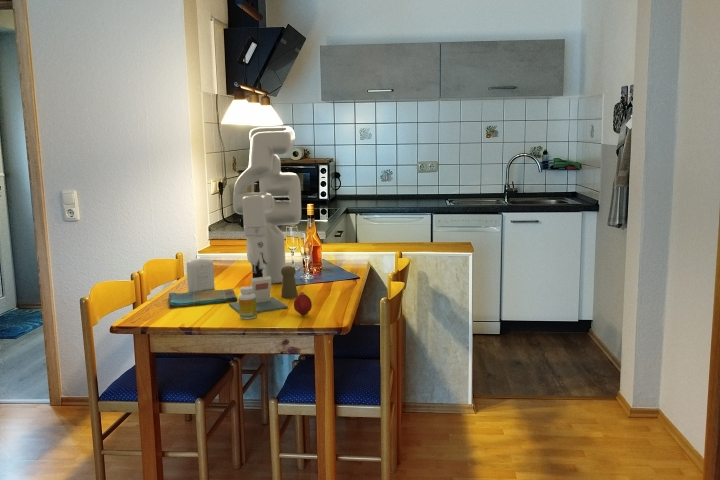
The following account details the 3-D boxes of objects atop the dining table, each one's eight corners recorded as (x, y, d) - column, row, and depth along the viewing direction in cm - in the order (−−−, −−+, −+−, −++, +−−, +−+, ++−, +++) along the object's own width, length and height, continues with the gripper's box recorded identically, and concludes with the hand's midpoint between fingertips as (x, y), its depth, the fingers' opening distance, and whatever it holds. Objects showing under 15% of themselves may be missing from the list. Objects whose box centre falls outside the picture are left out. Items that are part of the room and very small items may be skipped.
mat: (273, 298, 240) (273, 296, 240) (287, 308, 227) (287, 306, 227) (229, 305, 233) (228, 303, 233) (241, 315, 220) (241, 313, 220)
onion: (294, 313, 220) (293, 289, 219) (312, 312, 220) (311, 288, 219) (294, 318, 214) (292, 294, 213) (312, 317, 215) (311, 293, 213)
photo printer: (212, 287, 261) (210, 255, 259) (216, 289, 258) (214, 257, 255) (186, 291, 256) (184, 259, 253) (190, 293, 252) (187, 261, 250)
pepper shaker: (300, 295, 244) (299, 265, 242) (293, 299, 239) (292, 268, 237) (285, 294, 246) (284, 264, 244) (278, 298, 241) (276, 267, 239)
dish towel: (168, 298, 248) (167, 291, 247) (233, 292, 254) (232, 285, 254) (168, 310, 232) (168, 303, 231) (237, 303, 238) (237, 296, 238)
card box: (267, 297, 237) (269, 275, 232) (269, 300, 235) (271, 279, 231) (249, 300, 234) (251, 278, 229) (251, 303, 232) (253, 281, 228)
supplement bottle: (256, 319, 215) (254, 289, 213) (239, 320, 215) (237, 290, 213) (257, 314, 220) (255, 285, 219) (240, 315, 220) (238, 286, 218)
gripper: (272, 233, 226) (275, 286, 229) (259, 227, 239) (262, 278, 242) (250, 235, 223) (254, 289, 226) (238, 229, 236) (241, 281, 239)
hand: (258, 283), depth 234 cm, fingers closed
